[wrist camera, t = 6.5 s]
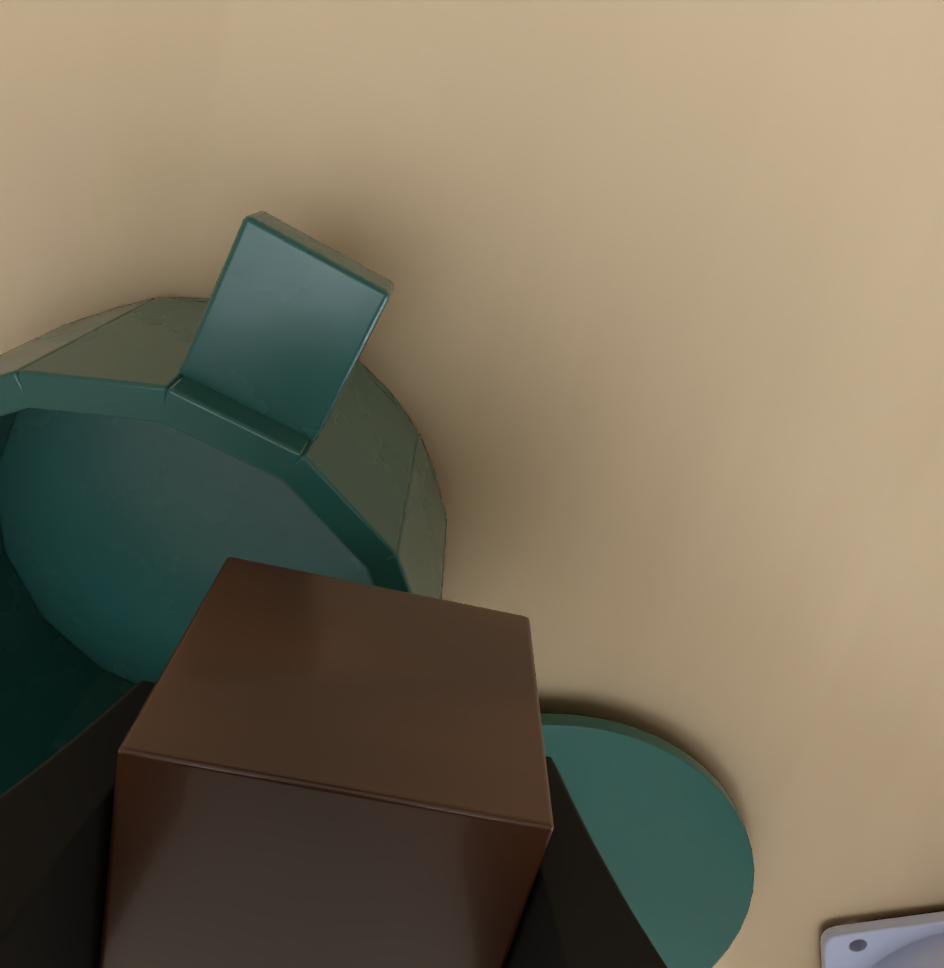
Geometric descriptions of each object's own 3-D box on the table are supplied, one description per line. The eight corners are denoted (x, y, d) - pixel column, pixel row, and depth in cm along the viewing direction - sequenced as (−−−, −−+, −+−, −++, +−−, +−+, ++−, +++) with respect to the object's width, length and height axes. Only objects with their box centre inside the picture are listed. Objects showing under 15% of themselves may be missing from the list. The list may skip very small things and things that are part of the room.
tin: (589, 343, 19) (643, 442, 13) (287, 834, 24) (228, 1058, 18) (111, 75, 17) (-87, 45, 11) (-98, 680, 22) (-303, 878, 16)
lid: (827, 802, 24) (913, 966, 19) (602, 1044, 28) (628, 1228, 23) (459, 629, 22) (455, 767, 17) (273, 920, 26) (229, 1096, 21)
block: (530, 615, 12) (556, 827, 8) (462, 838, 14) (459, 1095, 10) (227, 553, 12) (116, 749, 8) (194, 790, 13) (90, 1041, 10)
